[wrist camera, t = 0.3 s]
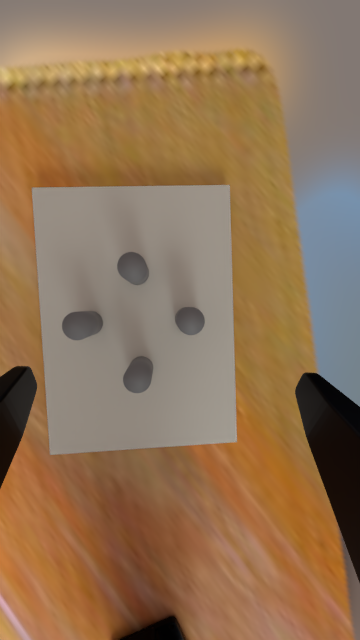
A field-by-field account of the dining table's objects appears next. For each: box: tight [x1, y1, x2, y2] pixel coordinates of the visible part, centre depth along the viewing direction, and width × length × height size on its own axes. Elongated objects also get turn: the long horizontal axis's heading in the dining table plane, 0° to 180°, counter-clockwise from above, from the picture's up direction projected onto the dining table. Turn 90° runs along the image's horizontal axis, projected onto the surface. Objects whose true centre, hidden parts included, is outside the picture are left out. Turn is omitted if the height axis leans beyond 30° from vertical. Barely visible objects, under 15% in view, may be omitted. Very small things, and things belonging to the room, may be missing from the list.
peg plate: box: [32, 185, 237, 455], centre depth 21 cm, size 22×16×5 cm
